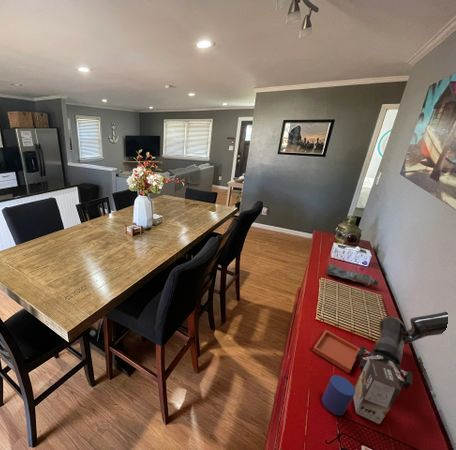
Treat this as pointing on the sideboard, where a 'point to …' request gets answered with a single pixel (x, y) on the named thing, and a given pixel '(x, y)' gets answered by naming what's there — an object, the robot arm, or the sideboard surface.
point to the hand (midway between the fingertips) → (378, 378)
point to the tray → (336, 350)
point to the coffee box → (376, 390)
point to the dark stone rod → (351, 275)
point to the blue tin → (338, 395)
